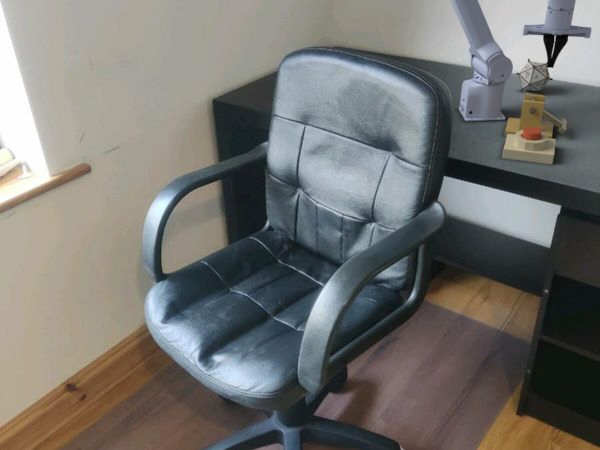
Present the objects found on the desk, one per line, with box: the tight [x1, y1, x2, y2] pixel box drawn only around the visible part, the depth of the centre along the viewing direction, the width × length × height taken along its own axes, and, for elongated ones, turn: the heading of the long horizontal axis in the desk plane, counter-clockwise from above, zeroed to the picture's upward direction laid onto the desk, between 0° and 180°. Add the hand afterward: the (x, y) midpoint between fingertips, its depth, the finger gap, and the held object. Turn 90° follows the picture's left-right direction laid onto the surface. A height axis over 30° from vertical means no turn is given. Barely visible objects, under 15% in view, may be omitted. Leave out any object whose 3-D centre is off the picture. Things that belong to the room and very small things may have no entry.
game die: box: [515, 58, 554, 95], centre depth 160 cm, size 9×8×10 cm
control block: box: [501, 130, 557, 165], centre depth 131 cm, size 10×8×4 cm
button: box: [522, 127, 542, 141], centre depth 130 cm, size 4×4×2 cm
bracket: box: [503, 93, 555, 139], centre depth 139 cm, size 10×8×8 cm
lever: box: [530, 97, 568, 135], centre depth 138 cm, size 10×6×2 cm, turn 69°
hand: (550, 66), depth 147 cm, fingers closed
